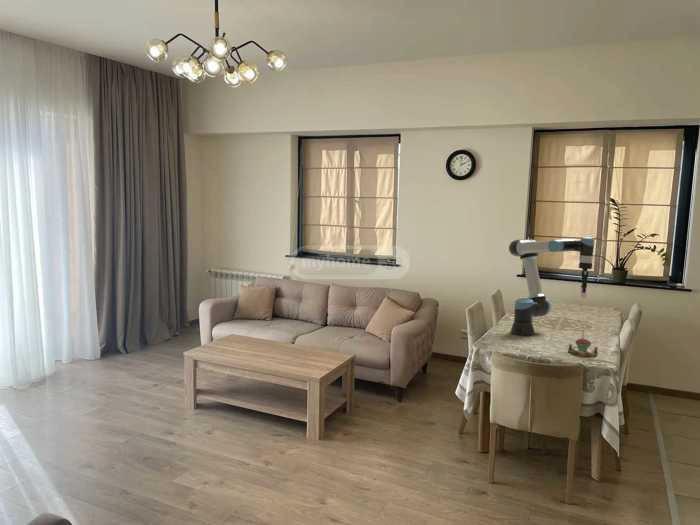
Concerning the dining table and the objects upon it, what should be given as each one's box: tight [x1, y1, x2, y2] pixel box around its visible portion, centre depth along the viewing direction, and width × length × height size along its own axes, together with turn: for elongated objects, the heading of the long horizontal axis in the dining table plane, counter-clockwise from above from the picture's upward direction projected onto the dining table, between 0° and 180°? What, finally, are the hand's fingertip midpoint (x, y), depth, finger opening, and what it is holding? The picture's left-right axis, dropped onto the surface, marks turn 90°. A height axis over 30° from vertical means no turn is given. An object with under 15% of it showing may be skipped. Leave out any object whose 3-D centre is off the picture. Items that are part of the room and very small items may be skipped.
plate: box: [567, 343, 599, 358], centre depth 313 cm, size 16×16×4 cm
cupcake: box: [575, 330, 592, 352], centre depth 312 cm, size 9×8×12 cm
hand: (583, 295), depth 328 cm, fingers open, 13 cm apart
